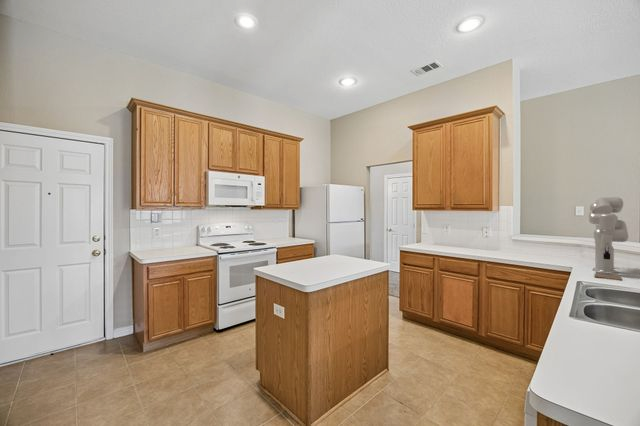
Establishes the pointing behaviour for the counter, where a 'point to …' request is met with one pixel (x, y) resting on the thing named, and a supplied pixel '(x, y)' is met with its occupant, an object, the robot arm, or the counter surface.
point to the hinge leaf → (607, 273)
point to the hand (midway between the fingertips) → (606, 259)
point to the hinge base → (608, 277)
